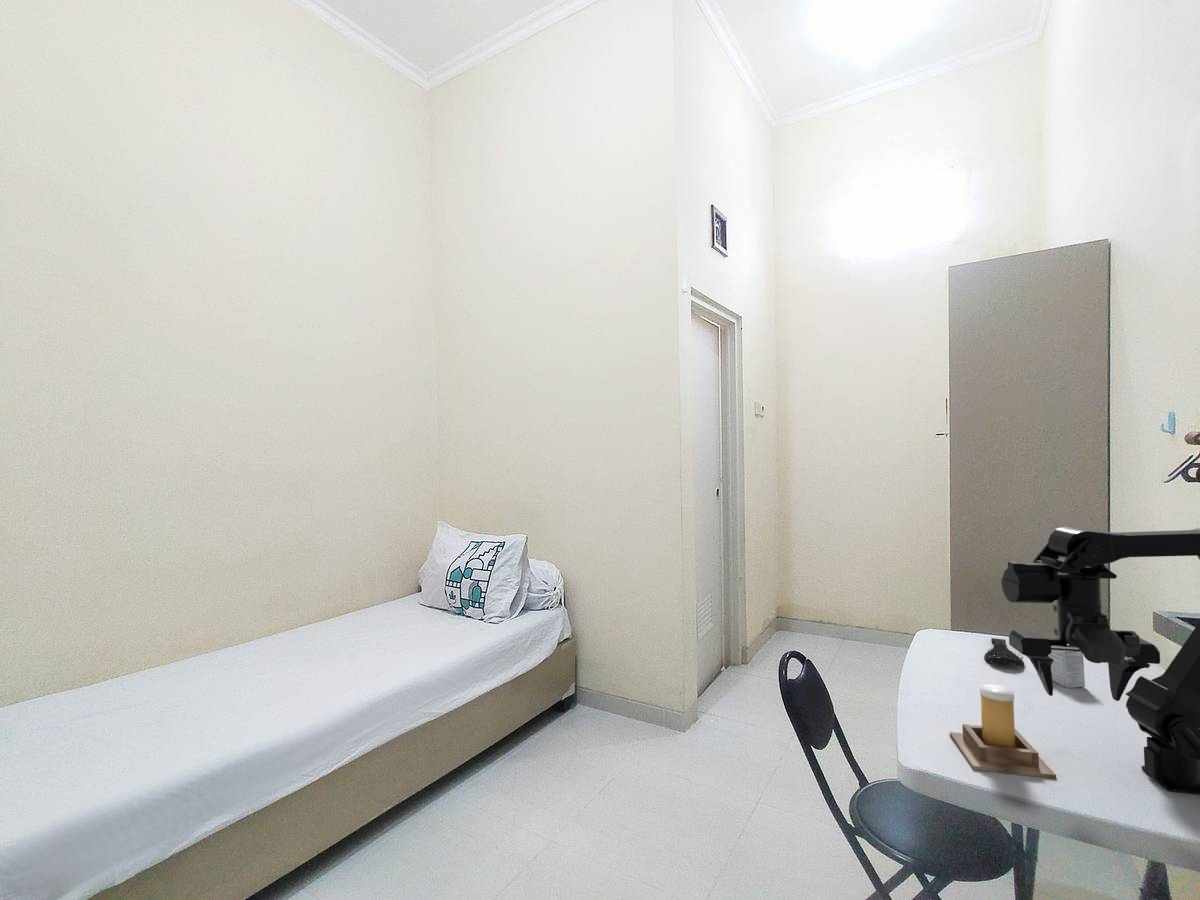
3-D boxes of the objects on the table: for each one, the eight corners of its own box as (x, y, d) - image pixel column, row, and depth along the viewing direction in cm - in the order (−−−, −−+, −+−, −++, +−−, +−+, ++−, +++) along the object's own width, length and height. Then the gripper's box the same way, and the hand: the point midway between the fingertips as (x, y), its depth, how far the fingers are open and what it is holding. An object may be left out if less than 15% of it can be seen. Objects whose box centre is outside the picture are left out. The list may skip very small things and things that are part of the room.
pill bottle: (998, 743, 102) (996, 683, 102) (1023, 757, 97) (1021, 694, 97) (975, 746, 101) (972, 685, 101) (999, 760, 96) (997, 697, 96)
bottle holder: (1022, 742, 103) (1021, 725, 103) (1056, 778, 92) (1055, 759, 92) (949, 735, 106) (949, 718, 107) (973, 769, 95) (972, 751, 95)
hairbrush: (1014, 633, 156) (1026, 657, 135) (1015, 646, 156) (1027, 672, 135) (979, 629, 160) (985, 652, 139) (980, 642, 160) (985, 667, 139)
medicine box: (1085, 688, 125) (1084, 649, 125) (1065, 688, 125) (1064, 650, 126) (1057, 674, 133) (1056, 638, 133) (1039, 674, 133) (1037, 638, 133)
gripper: (1036, 614, 87) (1040, 713, 87) (1184, 620, 82) (1188, 726, 82) (1006, 596, 98) (1009, 685, 98) (1134, 601, 93) (1138, 694, 93)
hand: (1082, 697), depth 92 cm, fingers open, 9 cm apart
